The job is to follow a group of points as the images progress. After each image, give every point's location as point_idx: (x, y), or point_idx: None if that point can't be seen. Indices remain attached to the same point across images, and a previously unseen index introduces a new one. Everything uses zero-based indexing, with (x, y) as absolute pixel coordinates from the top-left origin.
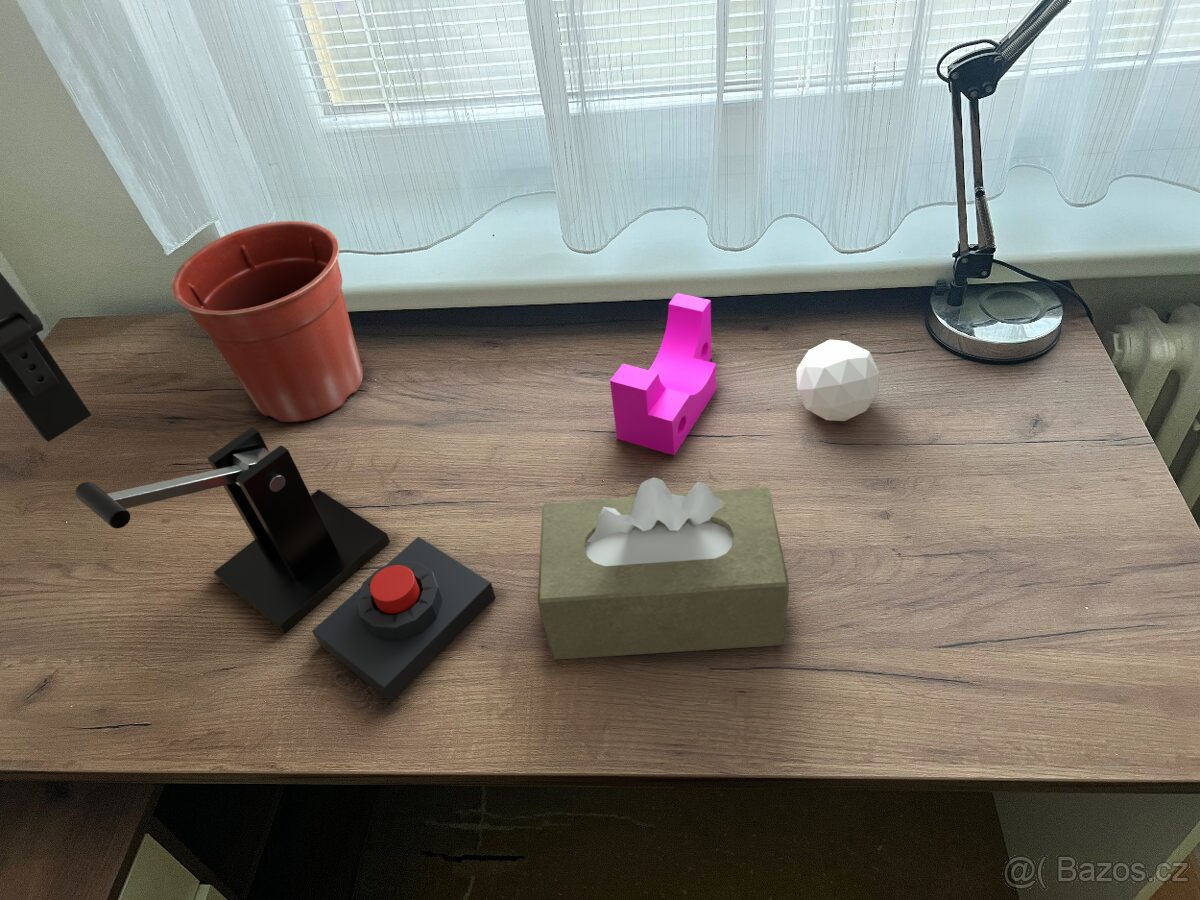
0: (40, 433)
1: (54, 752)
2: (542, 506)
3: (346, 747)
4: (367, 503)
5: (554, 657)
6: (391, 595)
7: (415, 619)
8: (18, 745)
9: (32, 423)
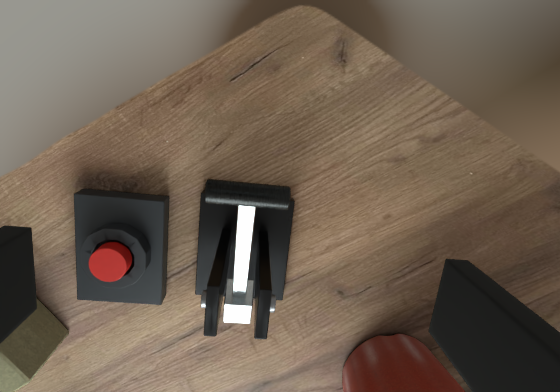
0: (12, 232)
1: (278, 23)
2: (29, 379)
3: (83, 145)
4: None
5: None
6: (97, 256)
7: (80, 248)
8: (311, 10)
9: (1, 241)
